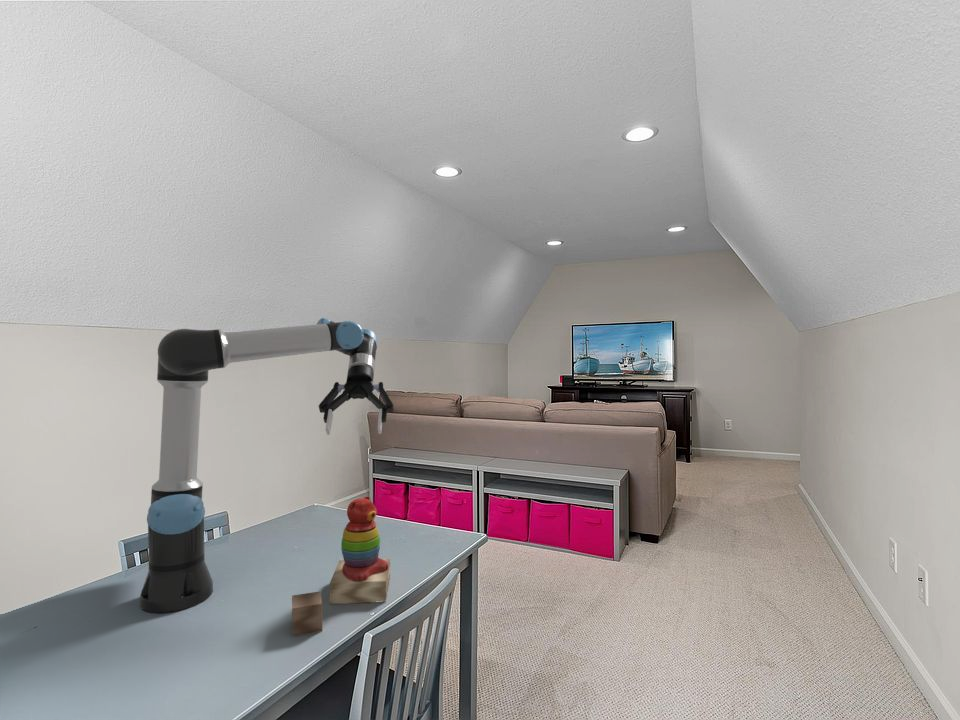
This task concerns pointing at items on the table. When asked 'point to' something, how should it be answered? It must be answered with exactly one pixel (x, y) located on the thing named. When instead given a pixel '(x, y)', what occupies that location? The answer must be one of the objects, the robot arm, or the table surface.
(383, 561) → the stacking bear
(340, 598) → the maple block
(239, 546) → the table surface
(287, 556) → the table surface
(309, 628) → the walnut cube
